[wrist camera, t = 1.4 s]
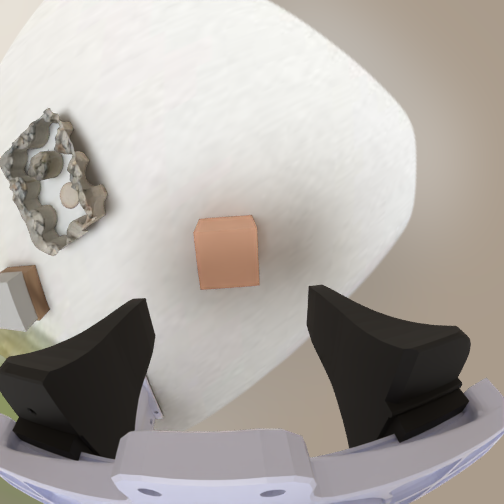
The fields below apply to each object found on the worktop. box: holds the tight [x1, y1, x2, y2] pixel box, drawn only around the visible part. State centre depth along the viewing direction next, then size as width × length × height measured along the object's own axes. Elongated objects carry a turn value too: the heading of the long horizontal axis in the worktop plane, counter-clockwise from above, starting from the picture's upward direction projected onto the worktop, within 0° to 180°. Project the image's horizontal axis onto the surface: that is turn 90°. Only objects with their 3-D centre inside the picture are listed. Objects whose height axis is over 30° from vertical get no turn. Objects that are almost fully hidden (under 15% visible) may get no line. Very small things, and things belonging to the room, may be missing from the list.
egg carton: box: [0, 108, 107, 256], centre depth 17 cm, size 11×8×4 cm
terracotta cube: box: [193, 215, 259, 290], centre depth 20 cm, size 4×4×4 cm
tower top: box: [0, 271, 38, 332], centre depth 18 cm, size 5×5×2 cm
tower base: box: [0, 265, 50, 320], centre depth 20 cm, size 5×5×2 cm
